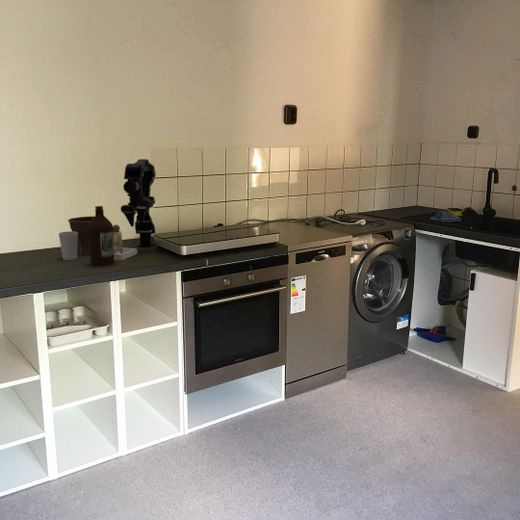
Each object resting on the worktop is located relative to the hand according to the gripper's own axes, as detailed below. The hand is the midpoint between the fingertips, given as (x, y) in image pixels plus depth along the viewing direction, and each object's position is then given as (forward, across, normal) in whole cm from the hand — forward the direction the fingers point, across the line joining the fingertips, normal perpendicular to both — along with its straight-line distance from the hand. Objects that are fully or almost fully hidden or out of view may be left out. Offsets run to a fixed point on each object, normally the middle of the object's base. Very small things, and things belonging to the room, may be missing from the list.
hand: (137, 225), depth 271 cm
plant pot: (+13, -7, +22) cm, 27 cm away
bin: (+13, -12, +4) cm, 18 cm away
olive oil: (+13, -27, +3) cm, 30 cm away
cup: (+13, -22, +22) cm, 34 cm away
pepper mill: (+12, -12, +4) cm, 18 cm away
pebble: (+12, -16, +2) cm, 20 cm away
